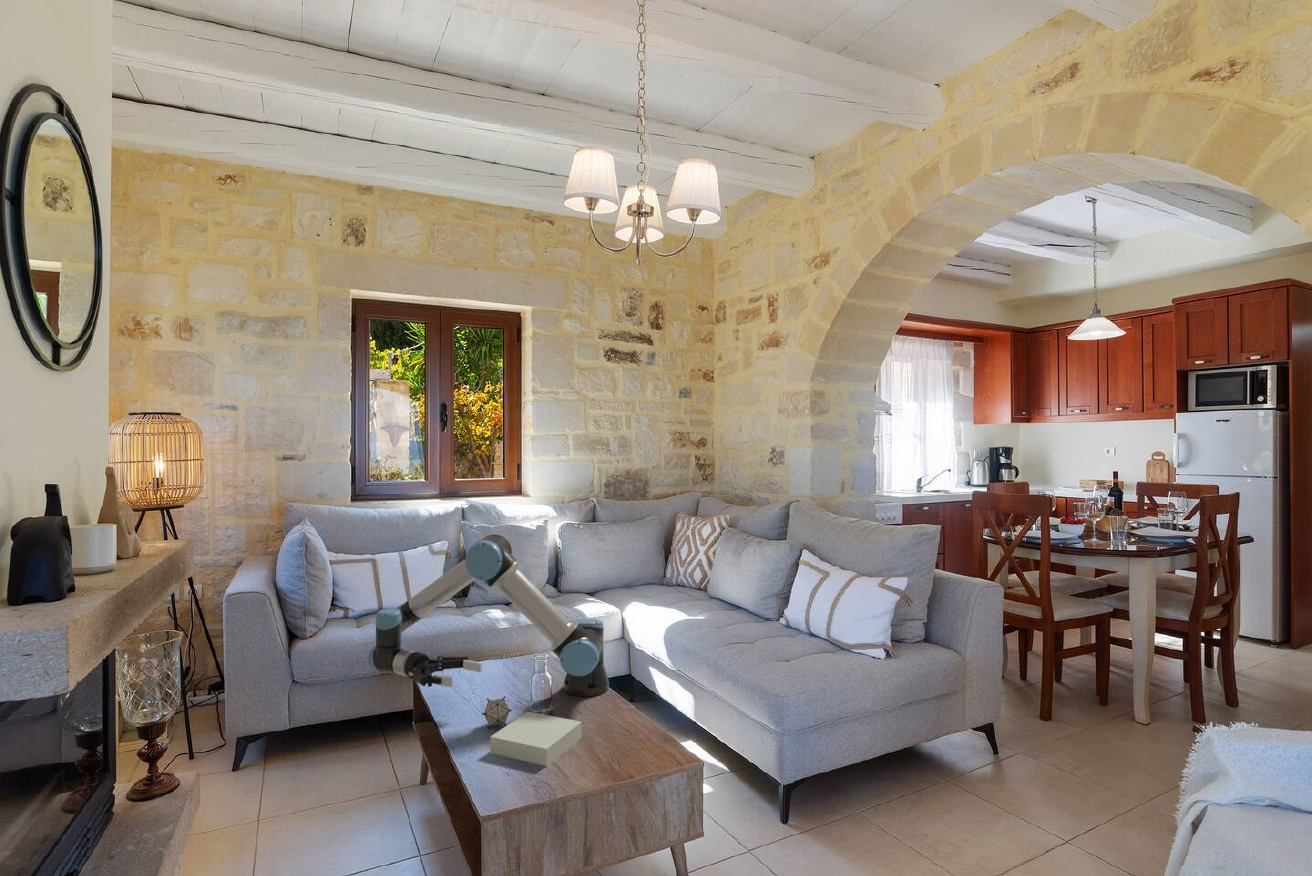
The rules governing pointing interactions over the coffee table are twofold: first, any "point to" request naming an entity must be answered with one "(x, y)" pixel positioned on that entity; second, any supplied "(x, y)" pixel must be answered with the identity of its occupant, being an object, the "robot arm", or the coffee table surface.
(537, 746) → the base block
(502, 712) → the game die
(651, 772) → the coffee table surface
